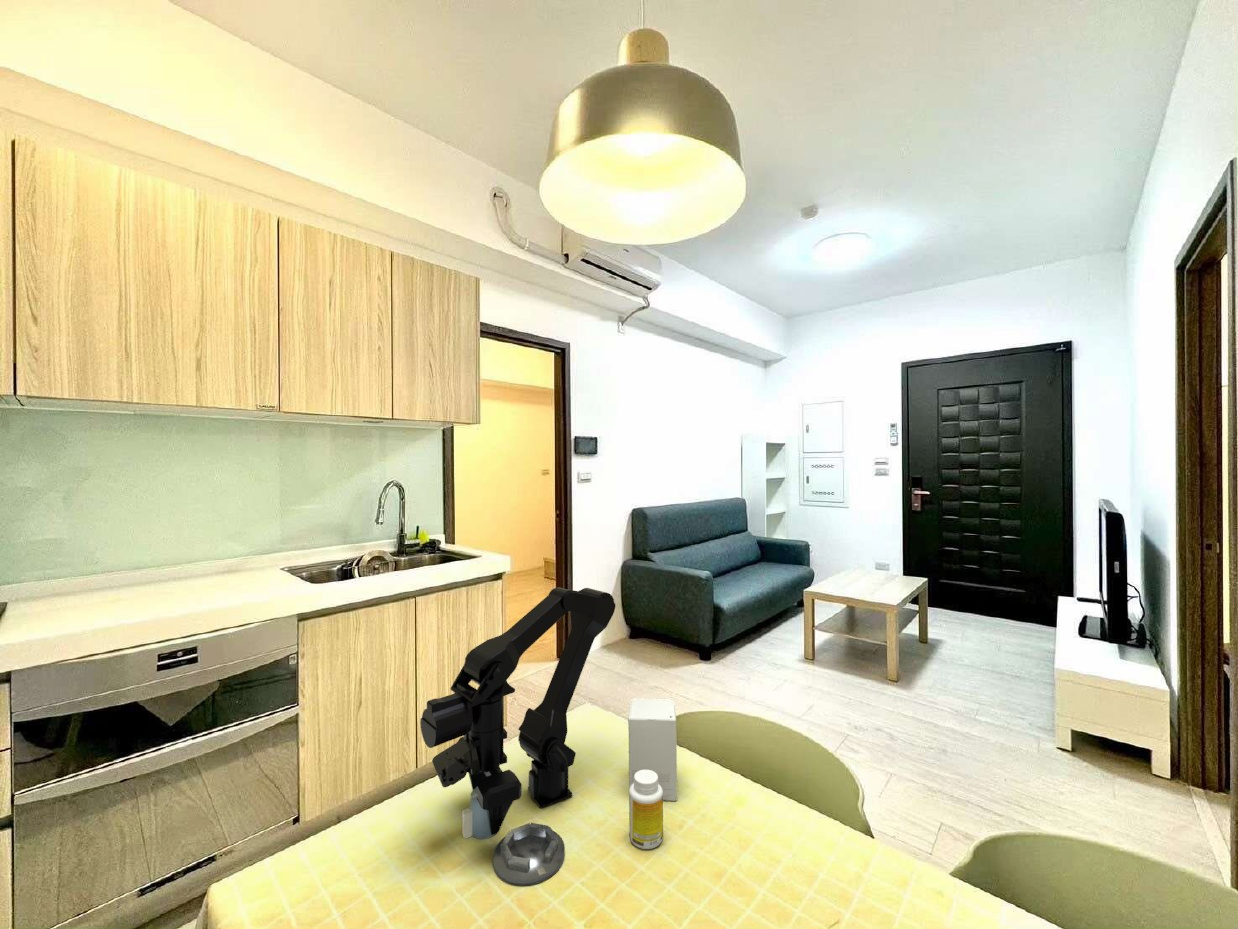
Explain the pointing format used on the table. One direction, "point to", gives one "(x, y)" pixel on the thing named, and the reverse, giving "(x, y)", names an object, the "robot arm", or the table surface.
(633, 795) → the supplement bottle
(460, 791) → the table surface
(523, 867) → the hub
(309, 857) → the table surface
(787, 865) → the table surface
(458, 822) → the table surface
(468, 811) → the knob
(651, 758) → the supplement box
